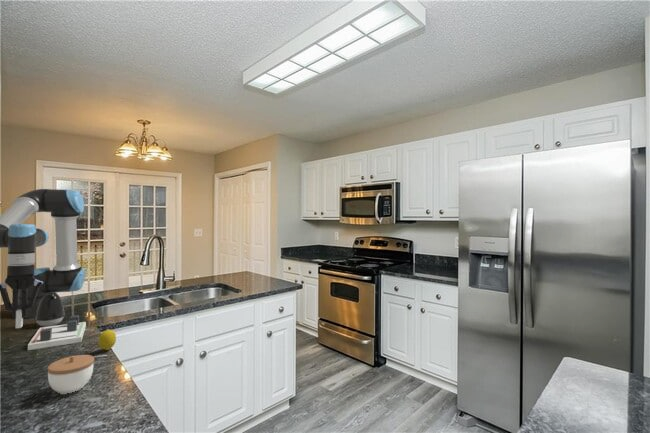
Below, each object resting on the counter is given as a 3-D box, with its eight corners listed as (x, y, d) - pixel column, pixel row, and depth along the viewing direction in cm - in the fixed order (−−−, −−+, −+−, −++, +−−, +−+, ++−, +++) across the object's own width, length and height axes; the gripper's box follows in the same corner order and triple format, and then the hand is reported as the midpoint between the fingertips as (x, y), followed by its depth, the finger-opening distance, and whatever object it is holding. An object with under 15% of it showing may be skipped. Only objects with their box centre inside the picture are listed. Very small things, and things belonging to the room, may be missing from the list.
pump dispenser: (38, 330, 140) (39, 296, 140) (32, 325, 146) (33, 292, 147) (67, 324, 148) (68, 292, 148) (60, 320, 154) (61, 288, 155)
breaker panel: (39, 332, 138) (40, 327, 138) (85, 326, 146) (86, 321, 147) (27, 350, 119) (27, 344, 119) (81, 341, 128) (81, 336, 128)
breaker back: (70, 323, 142) (70, 316, 142) (78, 322, 144) (79, 315, 144) (69, 325, 140) (69, 317, 140) (78, 324, 141) (78, 316, 141)
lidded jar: (40, 402, 86) (41, 367, 86) (55, 383, 96) (56, 352, 96) (88, 394, 91) (88, 361, 91) (97, 377, 100) (98, 347, 101)
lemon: (113, 346, 124) (114, 325, 124) (117, 350, 120) (117, 329, 120) (96, 350, 120) (97, 329, 121) (99, 354, 116) (100, 333, 117)
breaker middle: (68, 329, 136) (68, 320, 136) (76, 327, 137) (77, 319, 137) (67, 331, 133) (67, 322, 133) (76, 330, 135) (76, 321, 135)
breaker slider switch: (41, 338, 125) (41, 329, 125) (51, 336, 127) (51, 328, 127) (40, 340, 122) (40, 331, 122) (50, 339, 124) (50, 330, 124)
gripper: (-7, 266, 114) (-9, 333, 113) (42, 264, 121) (39, 327, 120) (0, 264, 120) (-2, 327, 120) (45, 262, 127) (43, 321, 127)
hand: (19, 327), depth 120 cm, fingers closed
